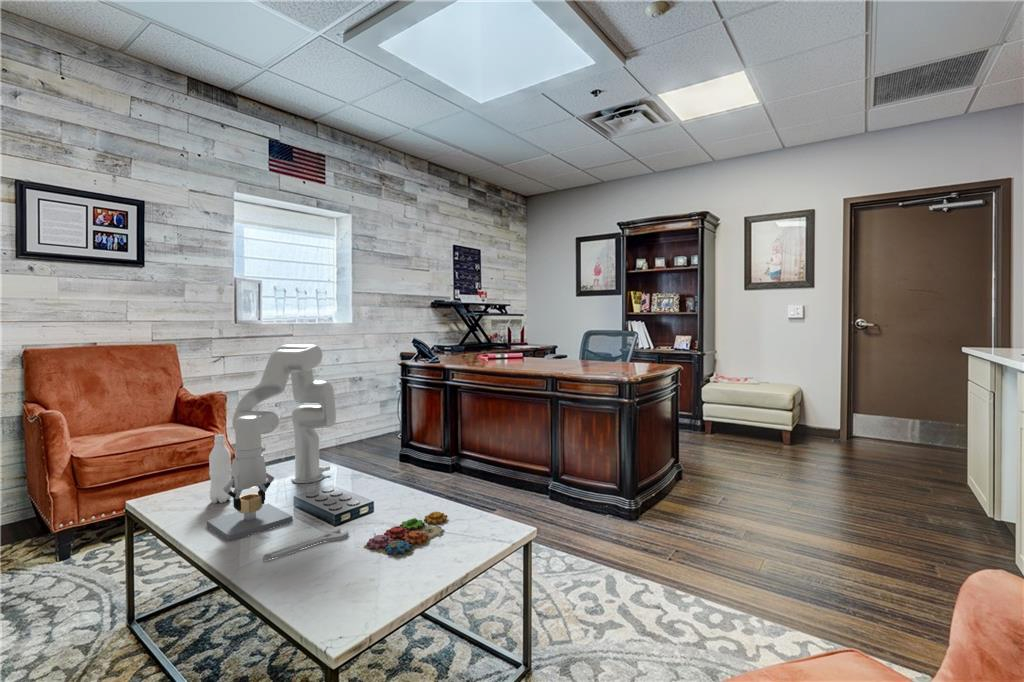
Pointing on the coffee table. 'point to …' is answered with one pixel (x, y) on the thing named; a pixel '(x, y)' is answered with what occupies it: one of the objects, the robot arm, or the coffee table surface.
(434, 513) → the gear puzzle
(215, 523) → the stand
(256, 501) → the bronze ring
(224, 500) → the water bottle
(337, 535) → the adjustable wrench
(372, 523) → the coffee table surface
